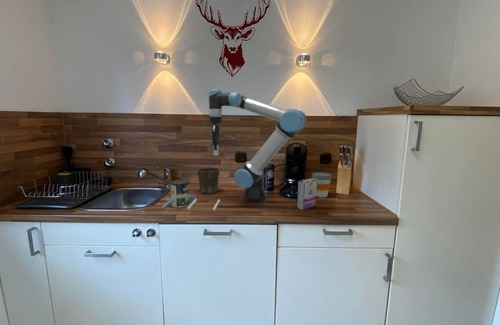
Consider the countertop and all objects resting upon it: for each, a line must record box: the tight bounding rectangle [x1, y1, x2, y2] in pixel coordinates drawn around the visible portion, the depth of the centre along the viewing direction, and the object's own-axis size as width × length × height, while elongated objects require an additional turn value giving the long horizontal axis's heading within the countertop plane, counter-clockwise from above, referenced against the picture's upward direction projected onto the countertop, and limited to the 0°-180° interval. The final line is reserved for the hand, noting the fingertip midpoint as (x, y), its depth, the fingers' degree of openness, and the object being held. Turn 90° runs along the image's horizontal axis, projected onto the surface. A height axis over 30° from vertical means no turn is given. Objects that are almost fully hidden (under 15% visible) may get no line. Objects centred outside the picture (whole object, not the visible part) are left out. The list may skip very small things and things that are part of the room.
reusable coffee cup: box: [311, 171, 332, 198], centre depth 161 cm, size 13×13×15 cm
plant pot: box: [196, 167, 221, 195], centre depth 167 cm, size 16×16×16 cm
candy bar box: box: [297, 178, 317, 211], centre depth 137 cm, size 11×5×16 cm, turn 126°
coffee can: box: [170, 179, 190, 209], centre depth 139 cm, size 10×10×14 cm
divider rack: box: [161, 195, 221, 212], centre depth 140 cm, size 30×18×2 cm, turn 87°
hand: (216, 155), depth 146 cm, fingers closed
